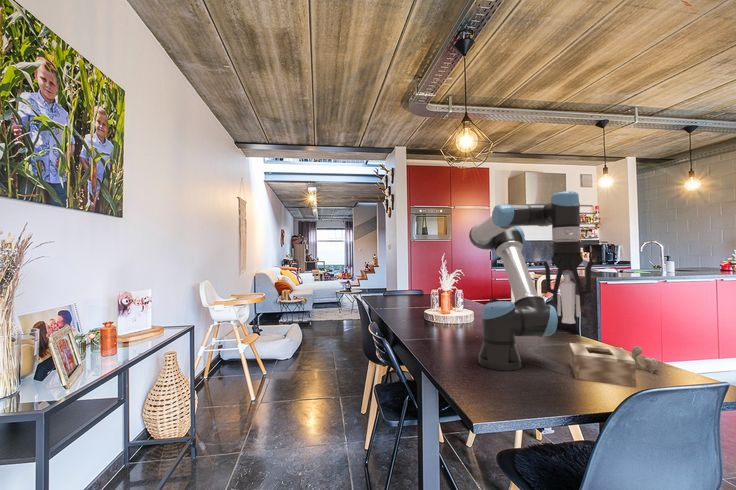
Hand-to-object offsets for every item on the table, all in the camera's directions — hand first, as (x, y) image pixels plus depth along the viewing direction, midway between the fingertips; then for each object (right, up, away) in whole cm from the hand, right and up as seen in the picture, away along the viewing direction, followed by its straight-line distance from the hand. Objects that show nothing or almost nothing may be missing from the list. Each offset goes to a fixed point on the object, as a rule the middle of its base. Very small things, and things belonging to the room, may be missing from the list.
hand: (568, 315), depth 100 cm
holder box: (+17, -23, +10) cm, 30 cm away
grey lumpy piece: (+37, -23, +14) cm, 46 cm away
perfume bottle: (0, -2, 0) cm, 2 cm away
